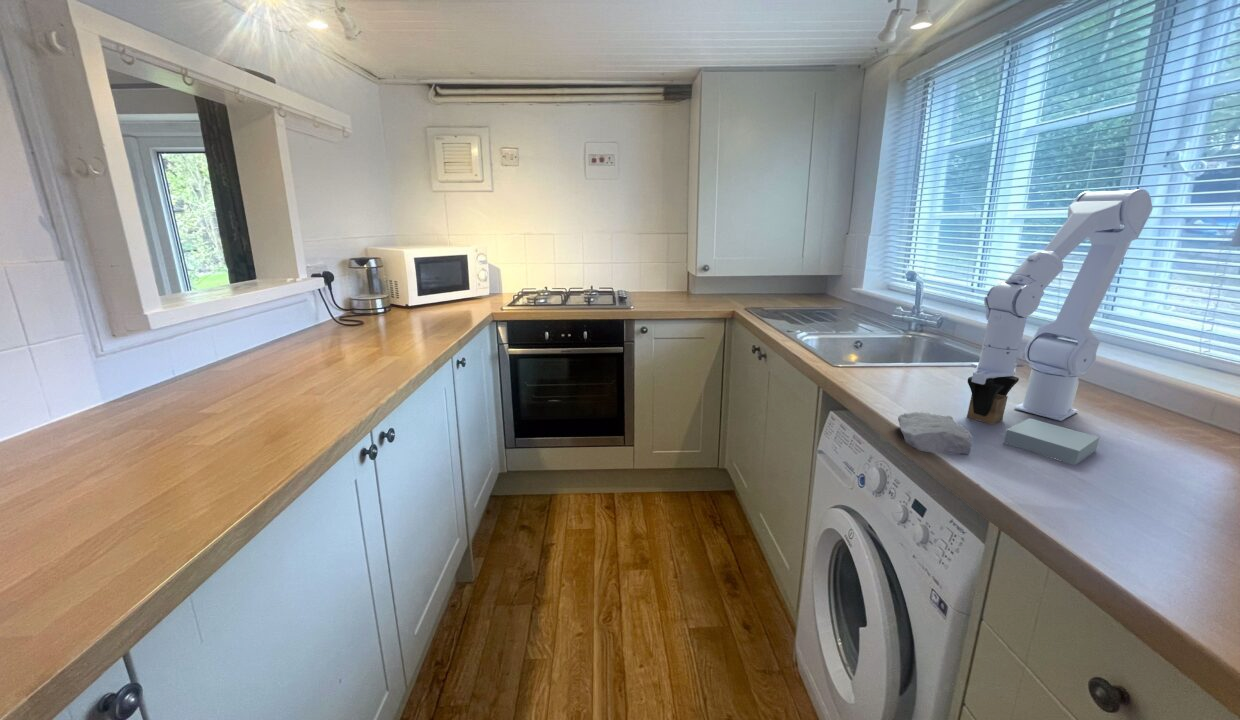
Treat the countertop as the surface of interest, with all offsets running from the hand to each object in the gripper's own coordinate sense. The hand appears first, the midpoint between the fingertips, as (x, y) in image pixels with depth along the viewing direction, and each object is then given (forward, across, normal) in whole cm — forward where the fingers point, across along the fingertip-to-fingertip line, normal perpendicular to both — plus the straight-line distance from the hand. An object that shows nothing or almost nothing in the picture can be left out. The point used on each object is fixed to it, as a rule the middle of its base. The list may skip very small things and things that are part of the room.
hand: (985, 411), depth 100 cm
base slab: (+2, +5, +12) cm, 13 cm away
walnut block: (+1, 0, 0) cm, 1 cm away
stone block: (+2, +20, -1) cm, 20 cm away
